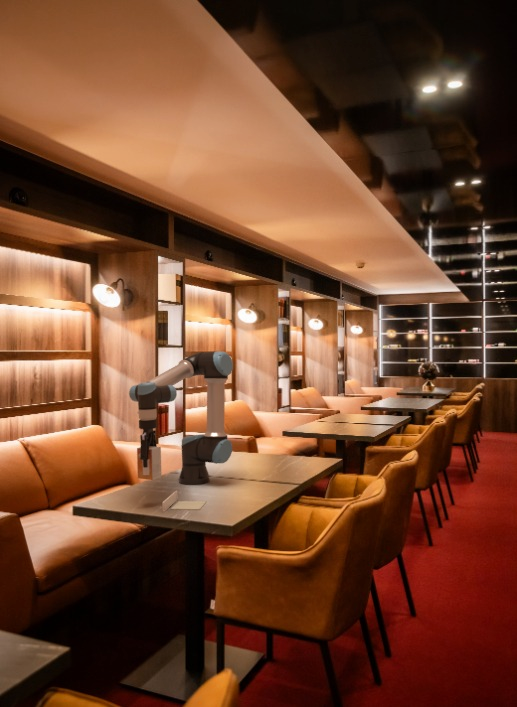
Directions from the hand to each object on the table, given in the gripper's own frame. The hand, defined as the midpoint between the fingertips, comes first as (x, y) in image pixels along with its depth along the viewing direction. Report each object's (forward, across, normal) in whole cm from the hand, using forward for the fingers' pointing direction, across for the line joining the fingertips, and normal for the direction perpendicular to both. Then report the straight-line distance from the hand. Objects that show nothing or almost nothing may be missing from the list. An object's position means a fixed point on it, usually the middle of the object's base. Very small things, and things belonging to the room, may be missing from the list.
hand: (149, 472), depth 251 cm
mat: (+14, 0, +17) cm, 22 cm away
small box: (+2, 0, 0) cm, 3 cm away
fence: (+14, 0, +9) cm, 16 cm away
